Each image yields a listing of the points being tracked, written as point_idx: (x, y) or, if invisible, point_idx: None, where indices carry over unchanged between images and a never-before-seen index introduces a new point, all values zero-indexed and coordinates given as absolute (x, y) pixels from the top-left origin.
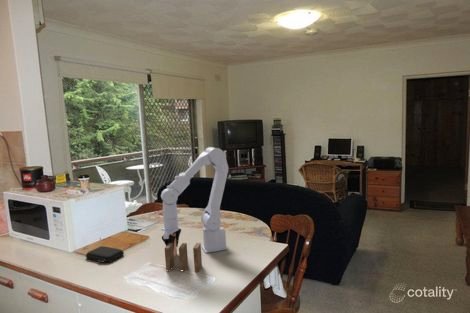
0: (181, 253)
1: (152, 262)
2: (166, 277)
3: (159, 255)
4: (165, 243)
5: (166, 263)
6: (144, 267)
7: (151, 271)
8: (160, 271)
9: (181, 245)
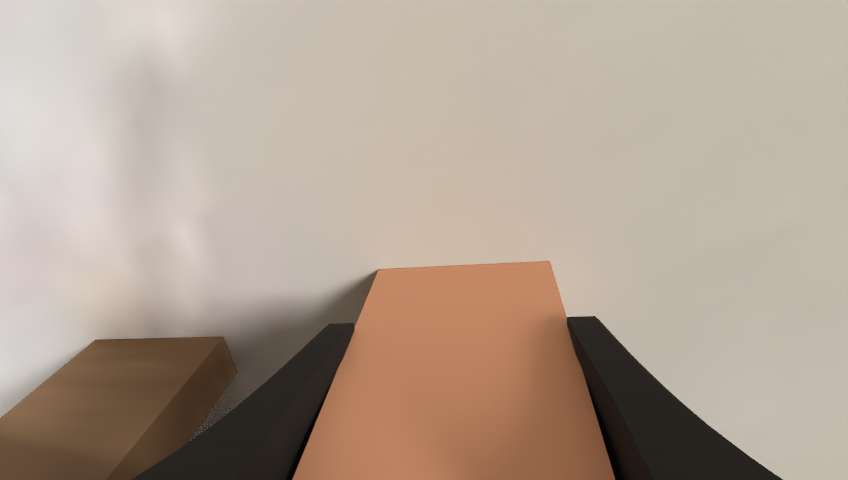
0: None
1: (205, 73)
2: (7, 378)
3: (469, 60)
4: (178, 463)
5: (23, 411)
6: (28, 31)
7: (5, 192)
8: (60, 289)
9: None
